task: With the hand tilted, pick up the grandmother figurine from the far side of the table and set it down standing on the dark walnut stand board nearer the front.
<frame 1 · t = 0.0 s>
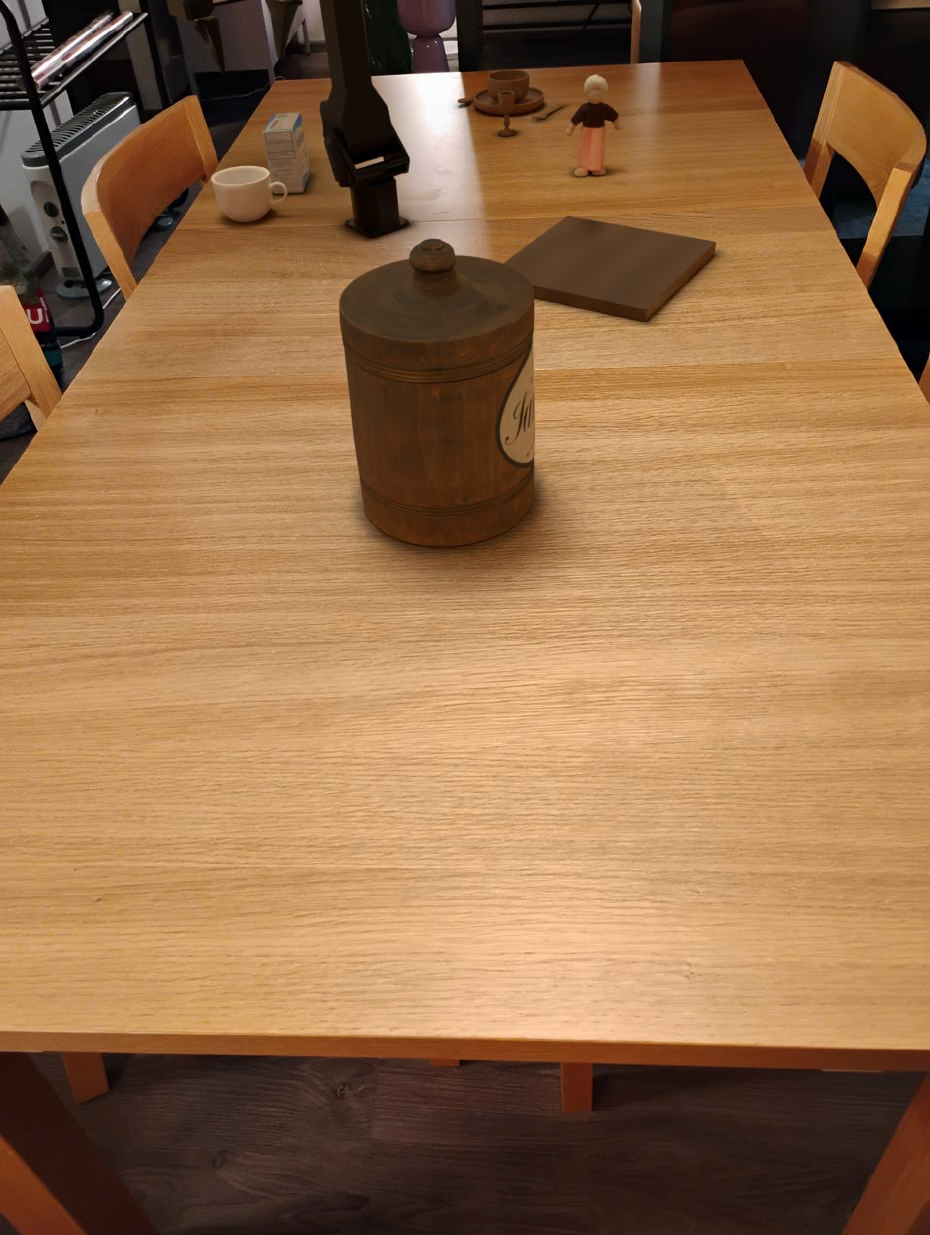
hand: (251, 65, 139), 15 cm above the table, tool pointing down, fingers open, 9 cm apart
wooden container: (449, 496, 86), on the table
grandmother figurine: (593, 173, 142), on the table
teacup: (256, 217, 136), on the table
stand board: (602, 270, 118), on the table
place setting: (497, 114, 165), on the table
medicine box: (292, 186, 145), on the table
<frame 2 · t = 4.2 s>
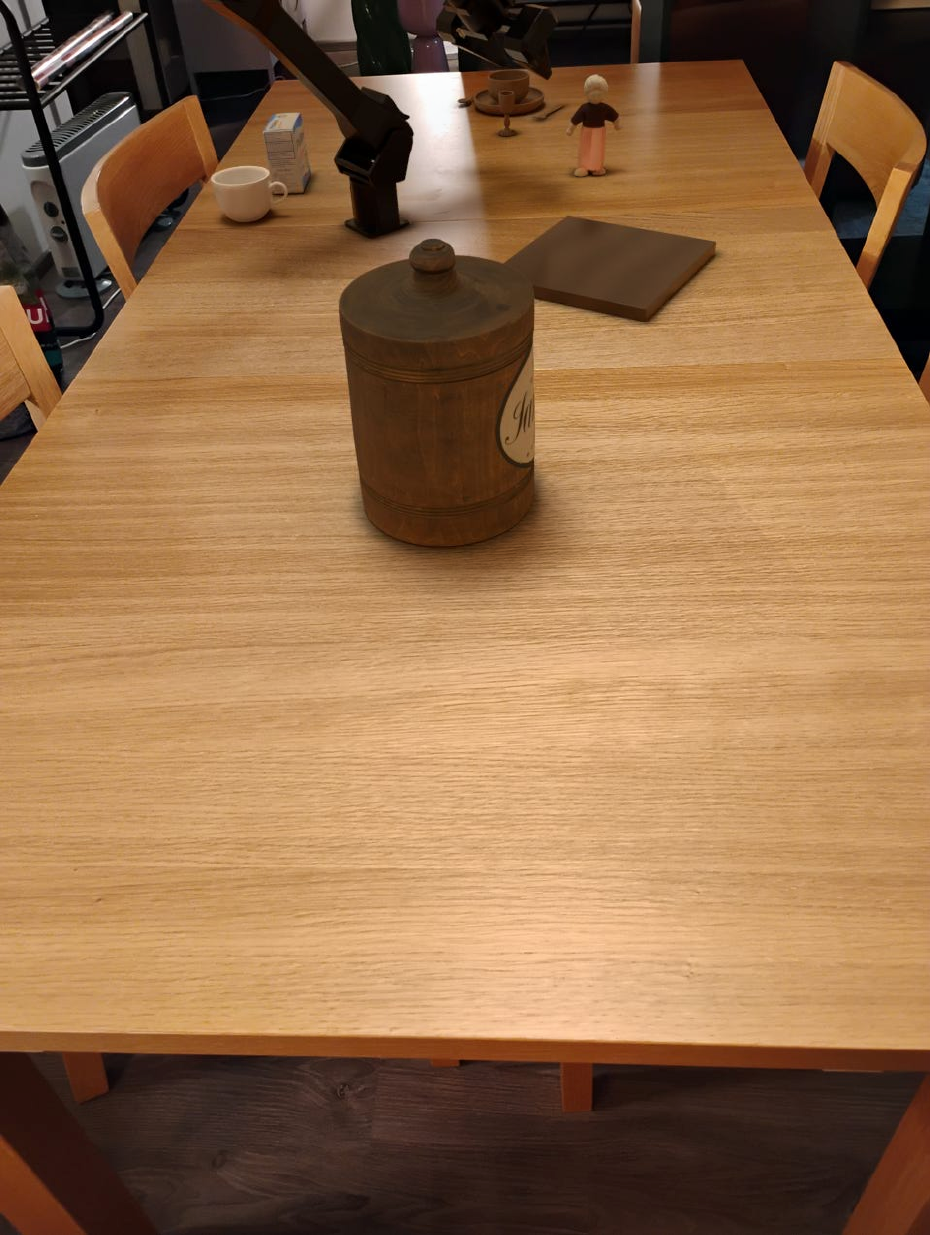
hand: (526, 70, 133), 14 cm above the table, tool tilted 40°, fingers open, 9 cm apart
nothing on the table moved.
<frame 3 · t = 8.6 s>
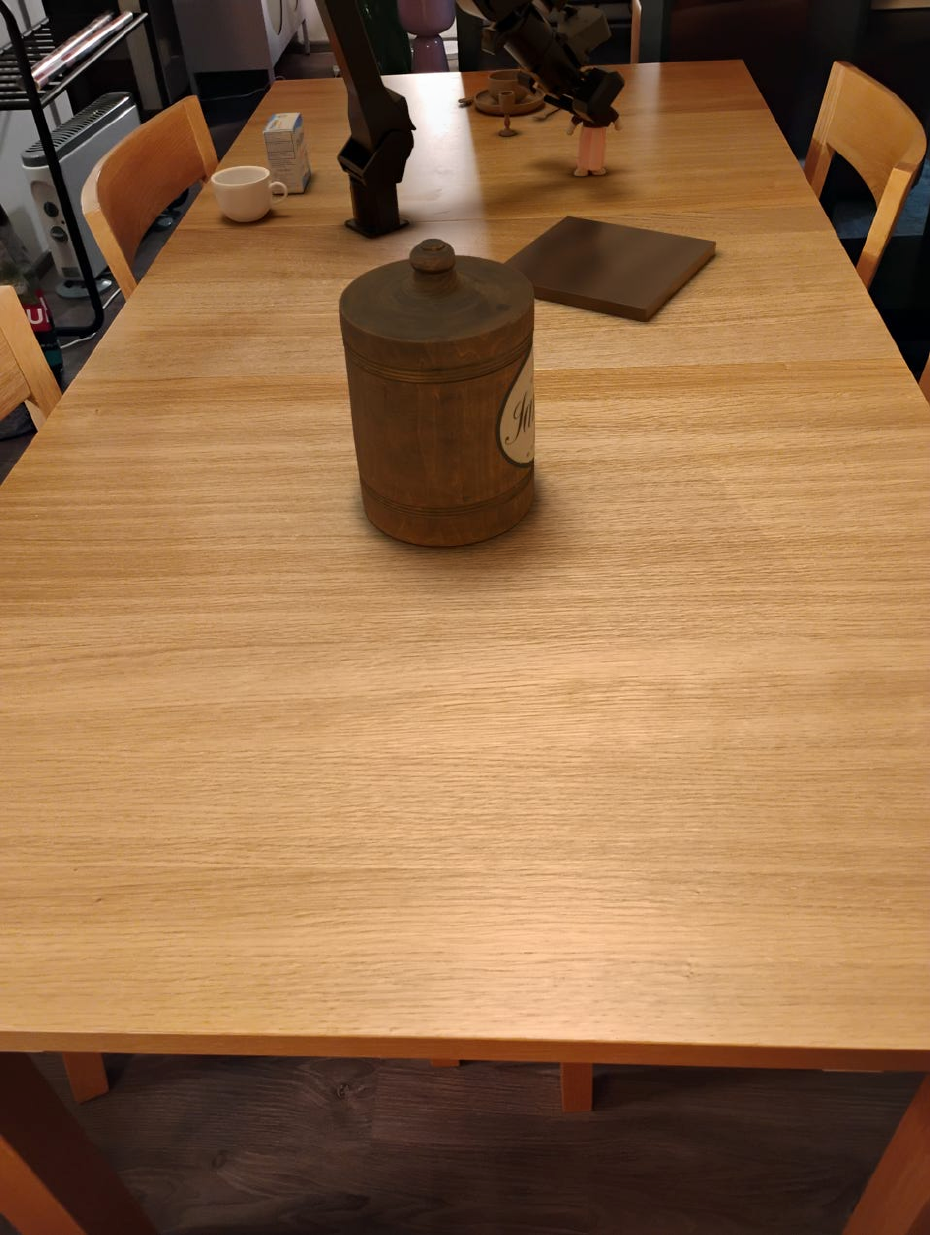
hand: (603, 121, 138), 7 cm above the table, tool tilted 45°, fingers closed on grandmother figurine, 3 cm apart
grandmother figurine: (593, 173, 142), on the table, touching gripper
everything else where it was.
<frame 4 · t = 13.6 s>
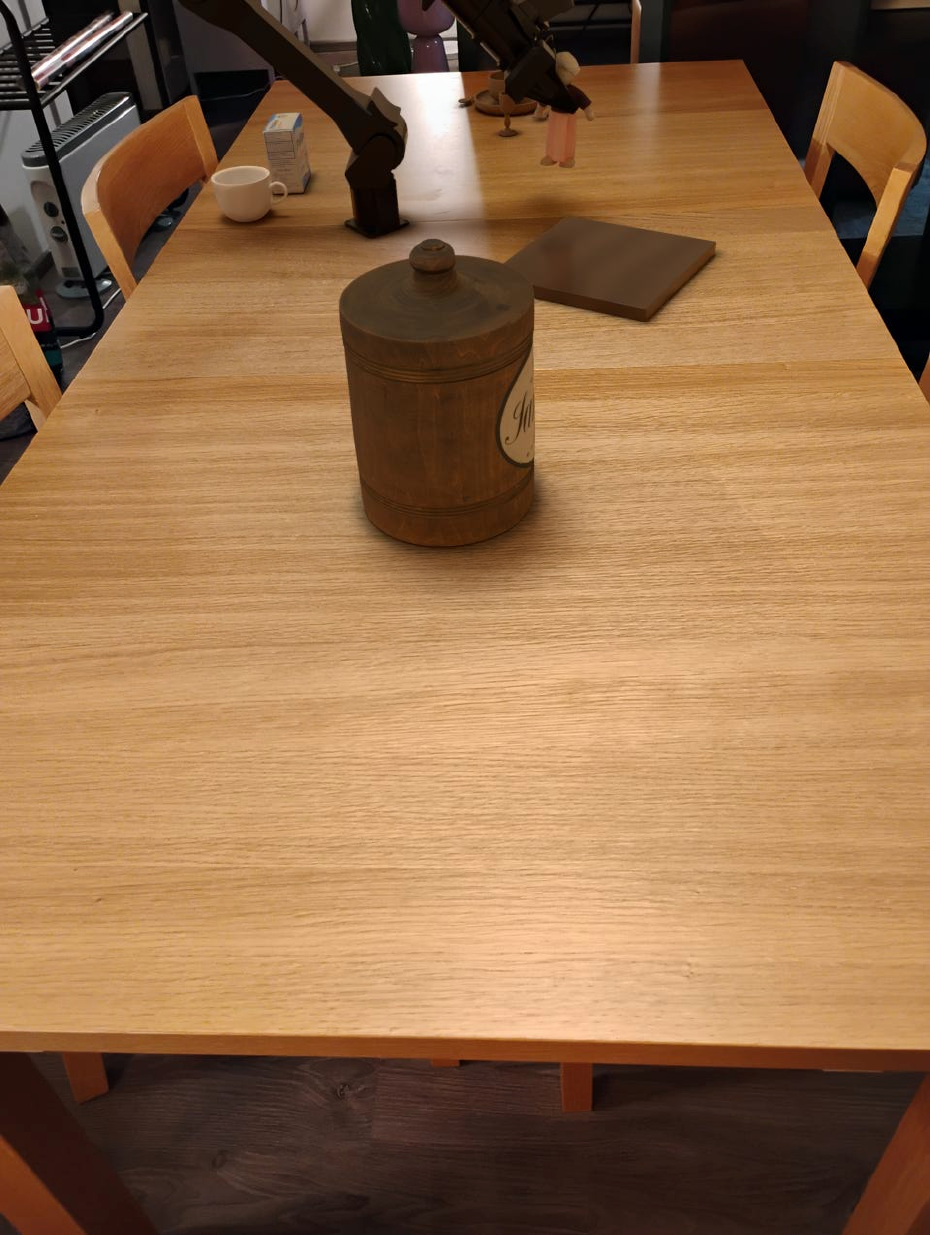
hand: (575, 107, 121), 13 cm above the table, tool tilted 45°, fingers closed on grandmother figurine, 3 cm apart
grandmother figurine: (562, 165, 126), point 7 cm above the table, touching gripper
everything else where it was.
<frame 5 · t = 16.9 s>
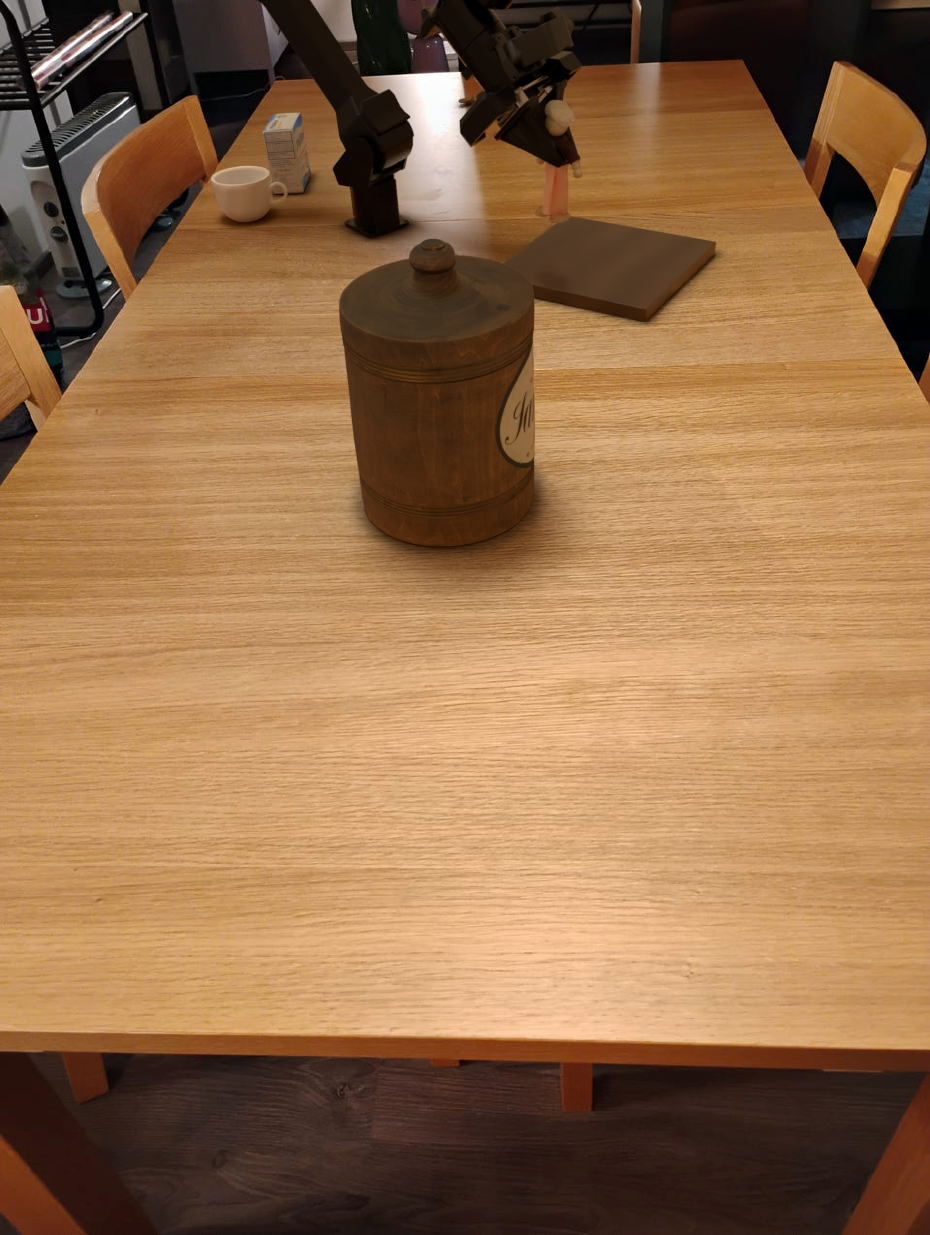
hand: (568, 160, 112), 12 cm above the table, tool tilted 45°, fingers closed on grandmother figurine, 3 cm apart
grandmother figurine: (555, 219, 117), point 5 cm above the table, touching gripper
everything else where it was.
when the fingers open (8 cm above the table, at t = 19.1 s): grandmother figurine stays where it is, resting on stand board.
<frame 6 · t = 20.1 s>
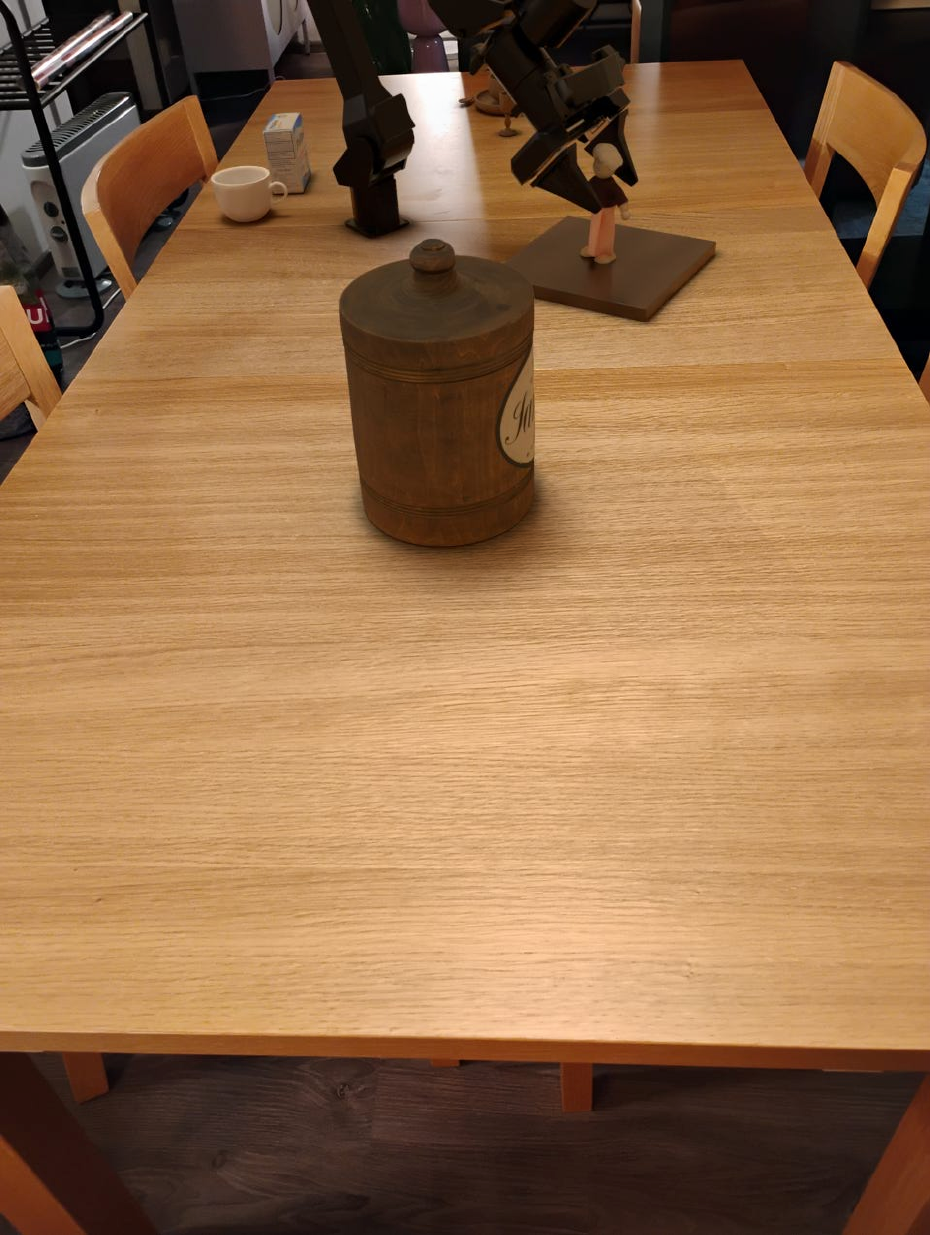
hand: (617, 197, 111), 9 cm above the table, tool tilted 45°, fingers open, 9 cm apart
grandmother figurine: (601, 259, 117), point 1 cm above the table, touching stand board
everything else where it was.
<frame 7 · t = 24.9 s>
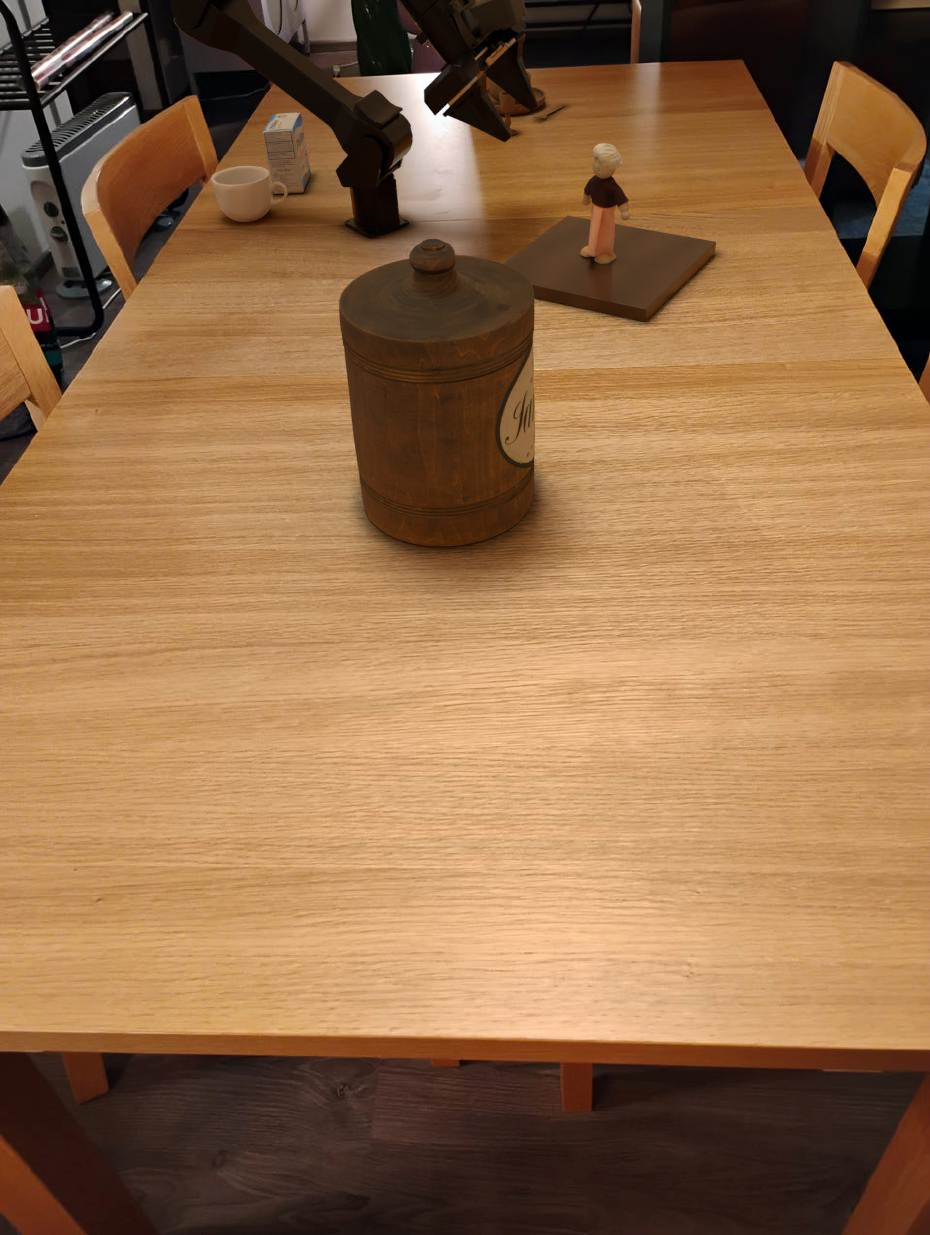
hand: (522, 123, 117), 13 cm above the table, tool tilted 40°, fingers open, 9 cm apart
nothing on the table moved.
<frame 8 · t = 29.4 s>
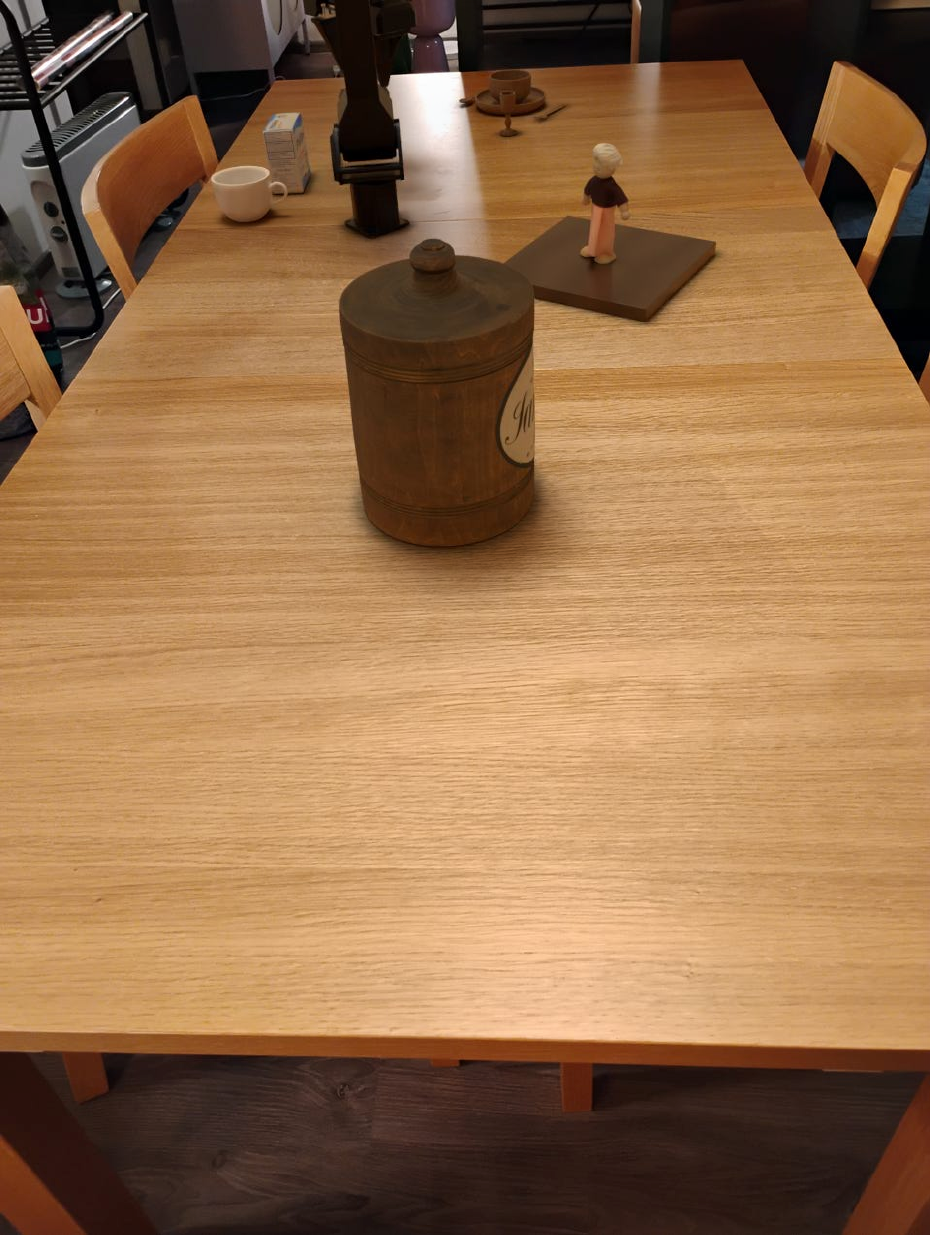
hand: (365, 80, 136), 13 cm above the table, tool pointing down, fingers open, 9 cm apart
nothing on the table moved.
at the end: grandmother figurine inside the target area on the stand board (0.3 cm from its centre), point 1.3 cm above the stand board's base; grandmother figurine tilted 0°; the gripper is holding nothing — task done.
